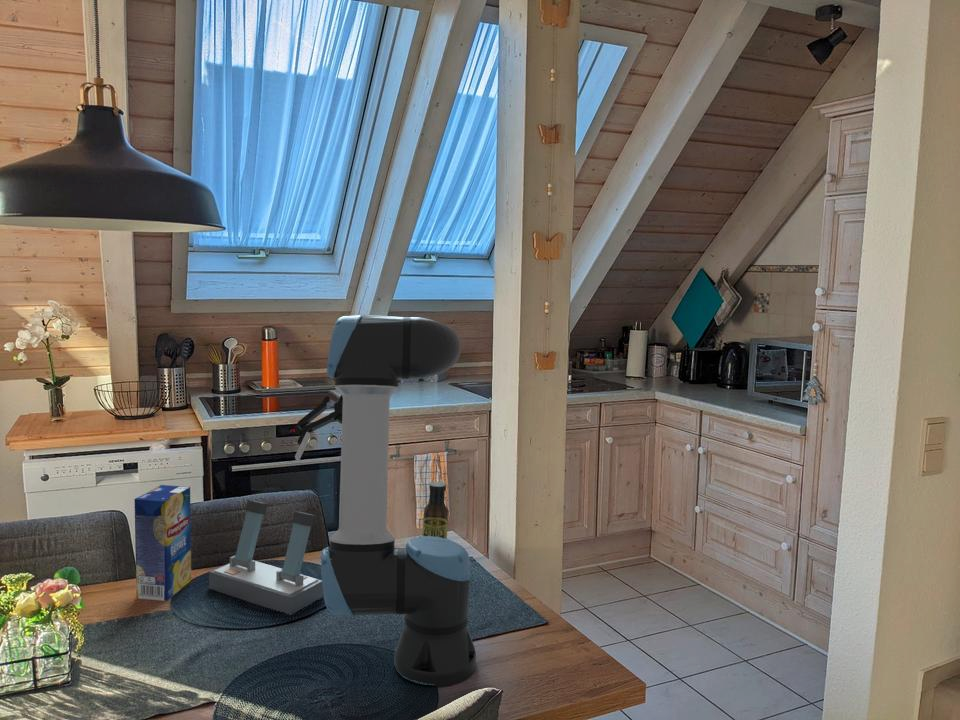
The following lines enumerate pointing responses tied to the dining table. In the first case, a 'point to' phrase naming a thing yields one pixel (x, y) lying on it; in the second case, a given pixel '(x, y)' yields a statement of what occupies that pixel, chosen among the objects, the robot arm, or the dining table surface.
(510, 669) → the dining table surface
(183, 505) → the blue food box
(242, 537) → the lever far
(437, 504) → the sauce bottle
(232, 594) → the switch console
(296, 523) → the lever near
